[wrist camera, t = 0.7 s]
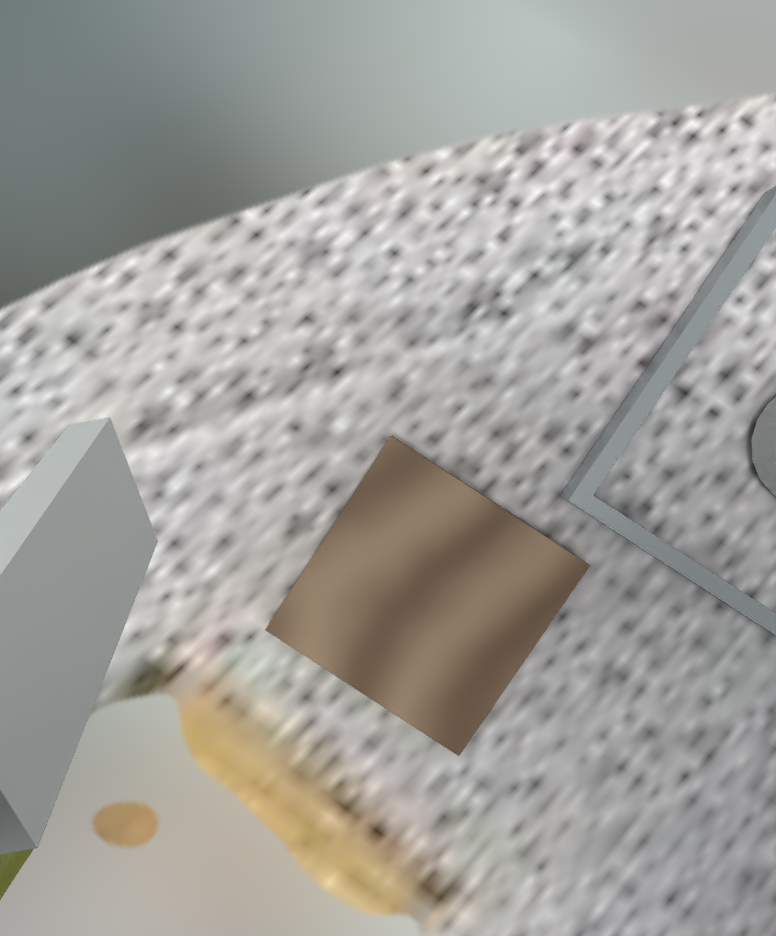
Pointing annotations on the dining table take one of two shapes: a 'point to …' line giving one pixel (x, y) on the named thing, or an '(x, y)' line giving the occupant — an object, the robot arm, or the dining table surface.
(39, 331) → the dining table surface
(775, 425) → the can
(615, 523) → the gray square frame
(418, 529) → the pad
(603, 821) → the dining table surface
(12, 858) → the plant pot
